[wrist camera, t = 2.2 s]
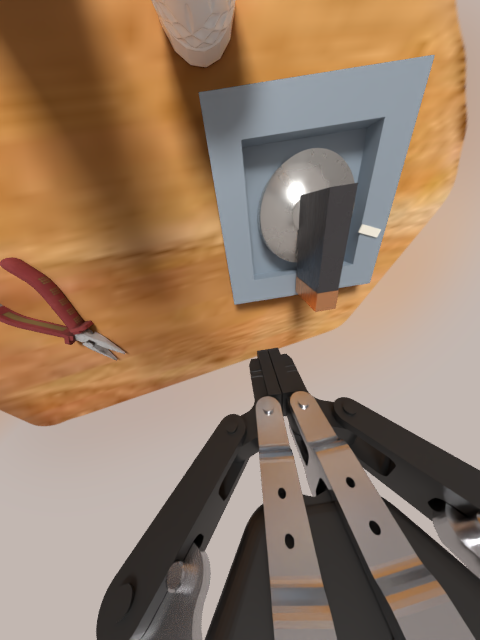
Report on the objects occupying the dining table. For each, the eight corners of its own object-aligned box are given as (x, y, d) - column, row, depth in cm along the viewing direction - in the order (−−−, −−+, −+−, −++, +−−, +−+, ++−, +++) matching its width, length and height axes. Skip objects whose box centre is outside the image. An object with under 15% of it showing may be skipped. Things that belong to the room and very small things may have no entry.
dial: (253, 162, 20) (273, 128, 12) (352, 147, 20) (437, 101, 12) (262, 289, 29) (277, 317, 21) (332, 278, 29) (373, 302, 21)
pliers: (107, 366, 36) (100, 375, 34) (-15, 299, 27) (-36, 307, 25) (142, 337, 33) (136, 346, 31) (18, 252, 24) (-3, 255, 22)
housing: (202, 109, 18) (198, 90, 15) (405, 77, 18) (437, 52, 15) (233, 297, 30) (234, 305, 27) (357, 277, 30) (370, 283, 27)
